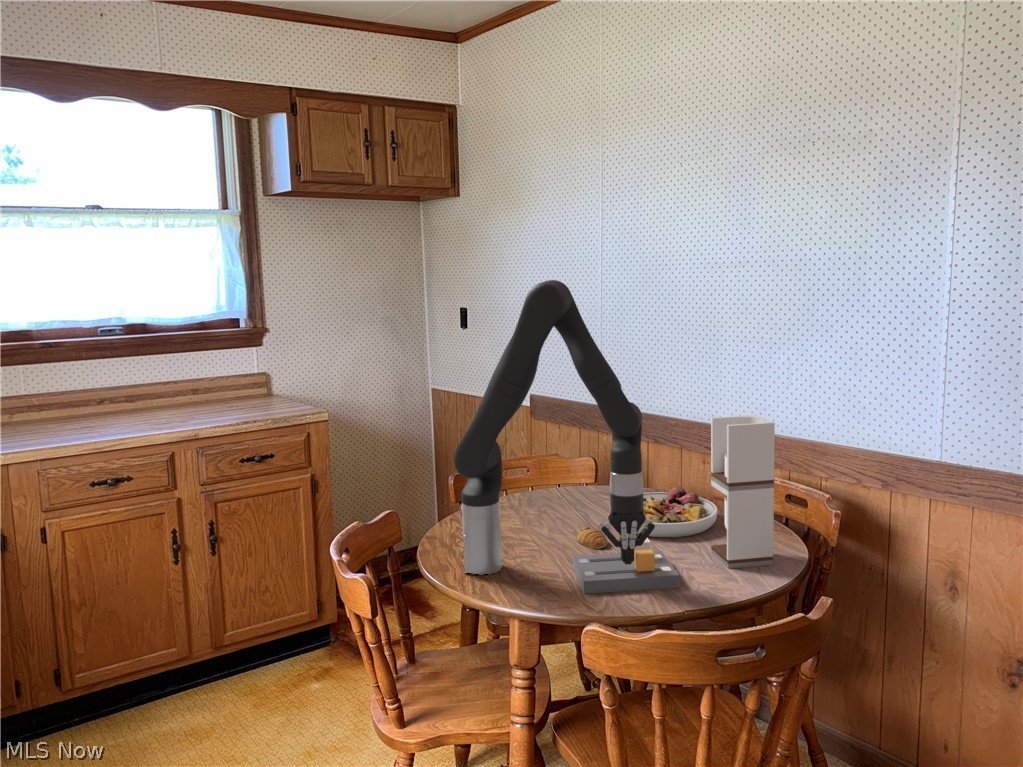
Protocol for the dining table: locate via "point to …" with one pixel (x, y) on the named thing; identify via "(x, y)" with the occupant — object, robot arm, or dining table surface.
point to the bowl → (678, 513)
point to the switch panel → (622, 574)
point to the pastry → (592, 538)
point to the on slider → (644, 545)
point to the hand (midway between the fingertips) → (627, 563)
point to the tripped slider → (644, 560)
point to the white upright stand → (744, 488)
